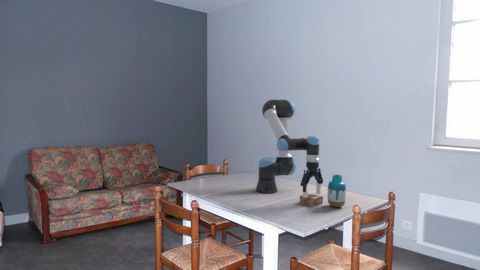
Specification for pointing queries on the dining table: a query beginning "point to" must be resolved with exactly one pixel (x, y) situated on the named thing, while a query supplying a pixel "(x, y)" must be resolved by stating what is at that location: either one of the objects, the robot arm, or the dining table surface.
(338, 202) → the vase
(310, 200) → the brown rectangular block
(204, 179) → the dining table surface
